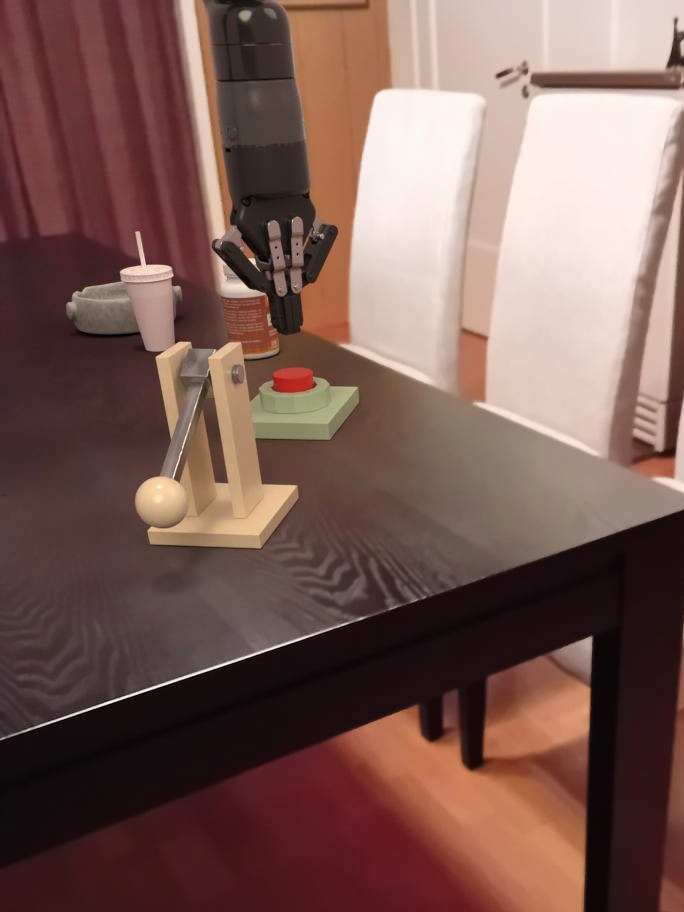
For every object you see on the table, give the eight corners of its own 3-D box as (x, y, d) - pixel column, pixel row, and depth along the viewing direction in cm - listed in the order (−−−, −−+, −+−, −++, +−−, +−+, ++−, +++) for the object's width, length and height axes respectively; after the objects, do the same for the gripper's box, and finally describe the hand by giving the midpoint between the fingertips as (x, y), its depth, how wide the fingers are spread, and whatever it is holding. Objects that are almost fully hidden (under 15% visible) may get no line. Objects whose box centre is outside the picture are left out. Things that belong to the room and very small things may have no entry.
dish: (192, 314, 147) (186, 278, 144) (157, 338, 135) (150, 299, 132) (97, 314, 148) (90, 278, 145) (54, 338, 136) (44, 300, 134)
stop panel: (329, 440, 98) (326, 405, 96) (231, 438, 99) (225, 403, 97) (359, 402, 108) (356, 369, 106) (269, 400, 109) (265, 368, 108)
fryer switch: (260, 548, 77) (233, 369, 70) (149, 544, 78) (111, 367, 71) (299, 498, 85) (278, 333, 78) (198, 495, 87) (168, 332, 80)
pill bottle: (282, 357, 124) (270, 263, 119) (232, 363, 123) (217, 267, 117) (277, 345, 130) (265, 254, 124) (228, 350, 128) (214, 258, 123)
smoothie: (174, 338, 134) (154, 226, 127) (193, 348, 130) (174, 232, 123) (127, 347, 131) (104, 232, 124) (145, 357, 126) (122, 238, 119)
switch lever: (189, 539, 70) (170, 508, 67) (140, 537, 71) (120, 507, 68) (237, 377, 78) (222, 342, 75) (193, 376, 78) (176, 341, 75)
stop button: (308, 396, 100) (306, 378, 99) (269, 395, 101) (267, 378, 100) (319, 384, 104) (317, 367, 103) (281, 383, 104) (279, 366, 103)
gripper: (303, 129, 96) (323, 315, 105) (176, 141, 89) (210, 339, 98) (348, 132, 92) (365, 326, 100) (217, 145, 84) (248, 353, 93)
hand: (288, 332), depth 99 cm, fingers closed
